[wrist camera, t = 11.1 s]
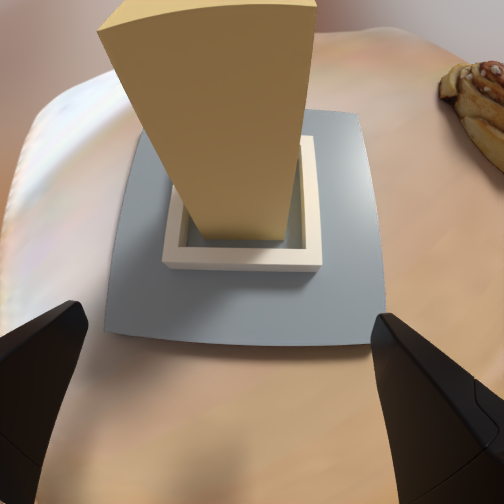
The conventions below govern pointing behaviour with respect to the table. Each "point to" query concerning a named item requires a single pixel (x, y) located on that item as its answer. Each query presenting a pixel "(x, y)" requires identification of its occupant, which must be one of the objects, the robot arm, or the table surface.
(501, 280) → the table surface
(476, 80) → the pastry
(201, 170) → the pillar
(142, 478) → the table surface
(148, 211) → the baseplate
